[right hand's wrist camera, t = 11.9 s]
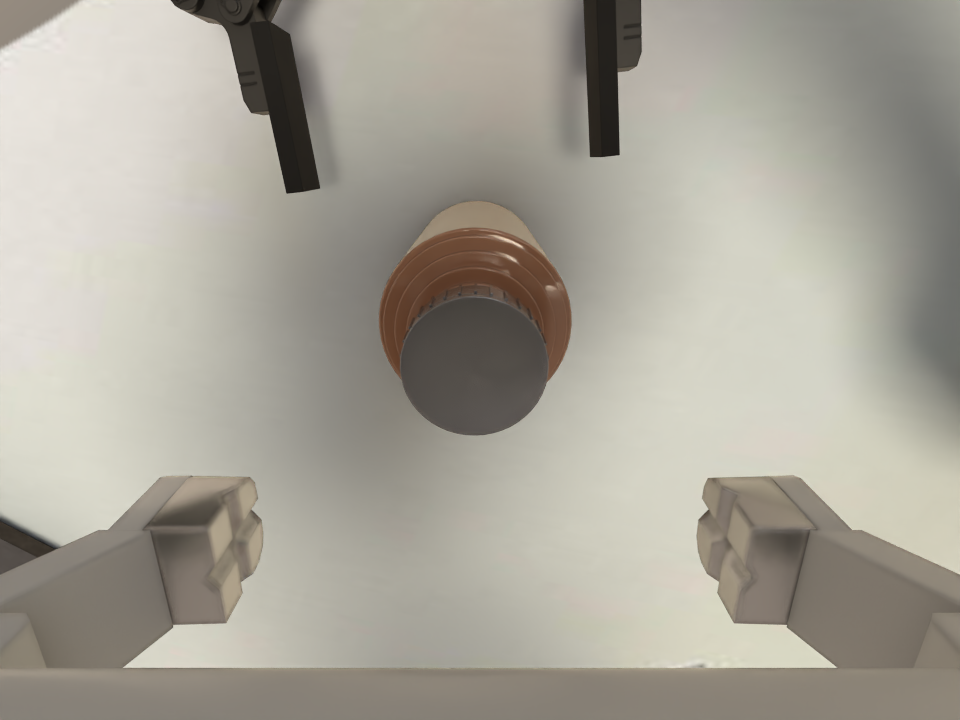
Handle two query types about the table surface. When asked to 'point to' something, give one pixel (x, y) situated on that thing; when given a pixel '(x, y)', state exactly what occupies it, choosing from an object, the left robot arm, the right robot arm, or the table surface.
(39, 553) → the toy
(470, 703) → the right robot arm
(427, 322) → the cap
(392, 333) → the bottle
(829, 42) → the table surface
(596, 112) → the left robot arm
